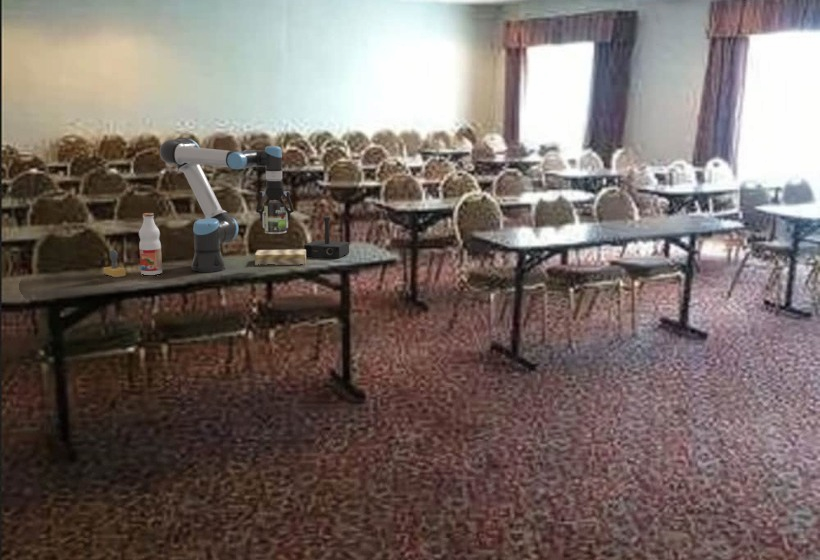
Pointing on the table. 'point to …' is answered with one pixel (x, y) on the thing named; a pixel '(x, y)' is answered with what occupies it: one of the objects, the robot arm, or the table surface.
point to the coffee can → (275, 217)
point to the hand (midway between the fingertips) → (275, 227)
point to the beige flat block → (281, 257)
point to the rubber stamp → (114, 266)
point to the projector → (327, 246)
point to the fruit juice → (150, 246)
